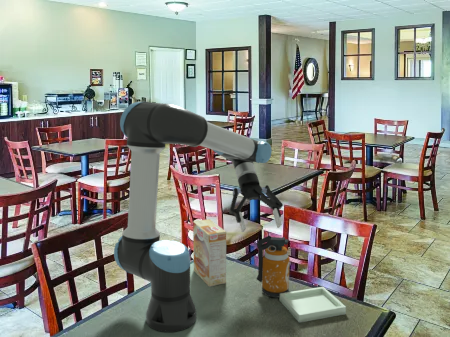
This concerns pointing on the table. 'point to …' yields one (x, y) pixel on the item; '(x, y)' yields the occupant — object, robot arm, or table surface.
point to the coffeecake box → (209, 252)
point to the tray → (312, 304)
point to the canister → (273, 266)
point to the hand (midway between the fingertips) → (262, 228)
